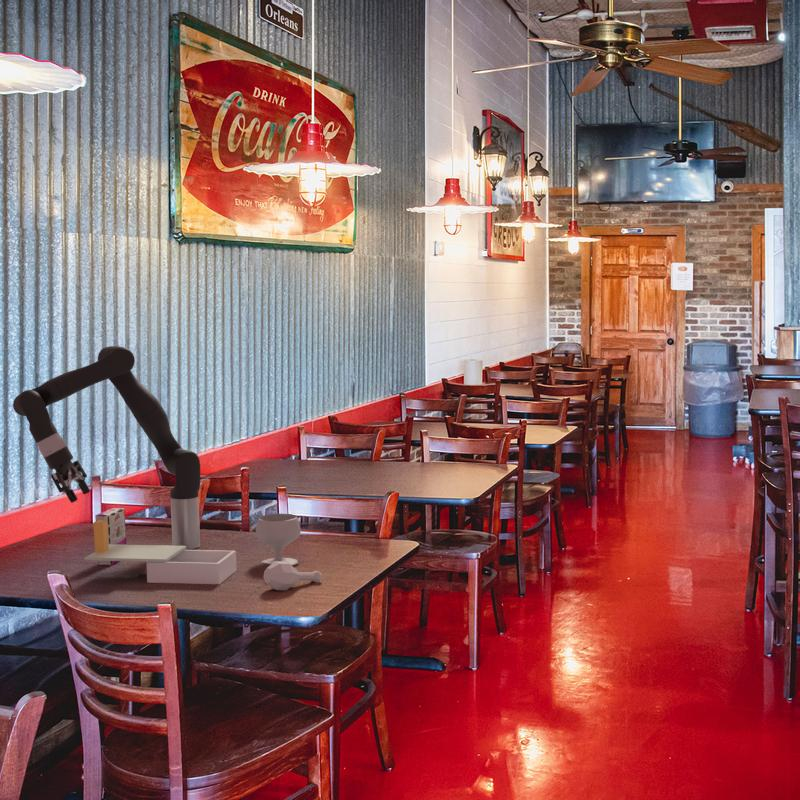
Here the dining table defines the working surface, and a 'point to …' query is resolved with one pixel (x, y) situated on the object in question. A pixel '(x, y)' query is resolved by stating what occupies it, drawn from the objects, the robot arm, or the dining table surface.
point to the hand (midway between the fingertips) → (81, 497)
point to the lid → (128, 549)
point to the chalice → (278, 534)
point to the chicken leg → (287, 575)
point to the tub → (194, 567)
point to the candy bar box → (114, 528)
